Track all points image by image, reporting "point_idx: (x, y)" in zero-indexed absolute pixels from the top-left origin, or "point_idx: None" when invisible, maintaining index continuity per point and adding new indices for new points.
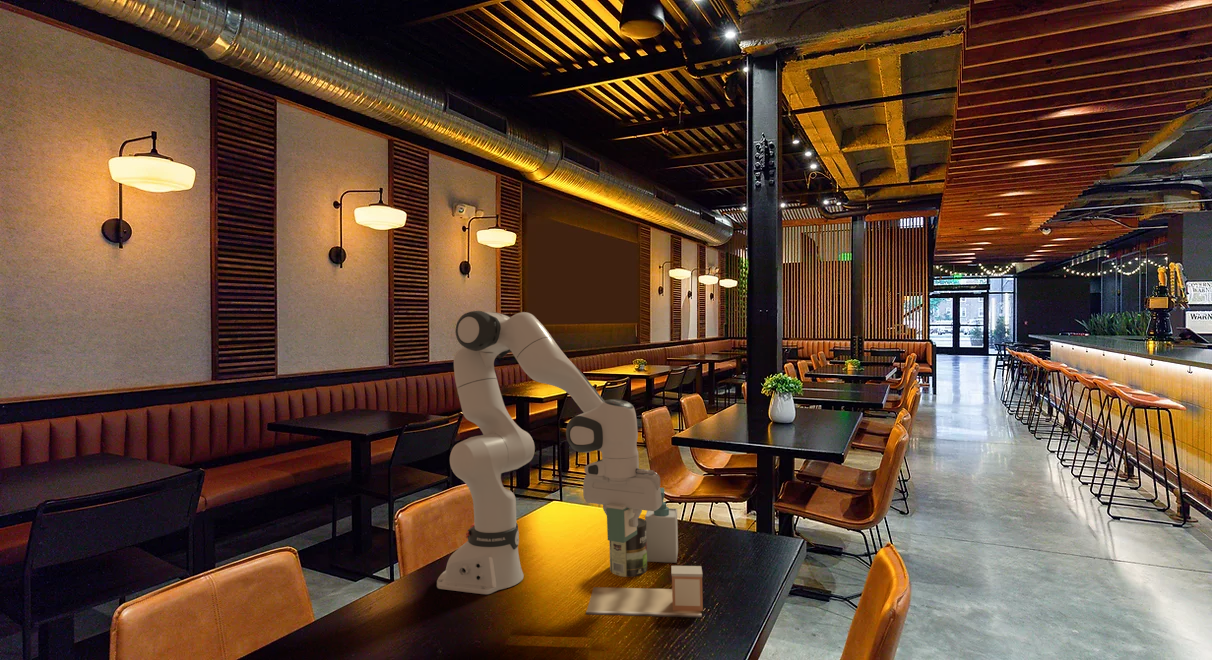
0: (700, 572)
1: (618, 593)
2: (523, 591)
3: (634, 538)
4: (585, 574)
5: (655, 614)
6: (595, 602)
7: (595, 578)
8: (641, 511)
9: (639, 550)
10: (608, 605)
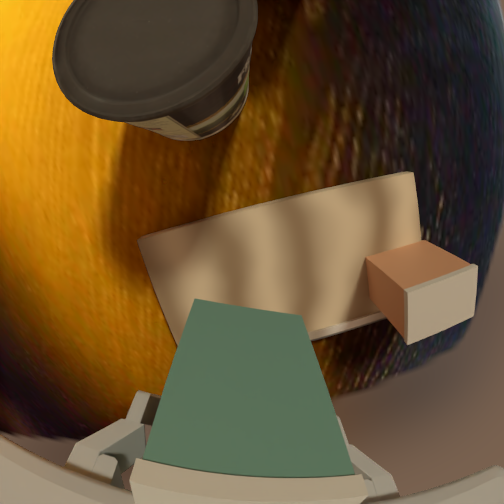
0: (471, 308)
1: (216, 255)
2: (17, 275)
3: (214, 99)
4: (78, 135)
5: (336, 331)
6: (180, 317)
7: (109, 146)
8: (388, 480)
9: (235, 94)
10: None
